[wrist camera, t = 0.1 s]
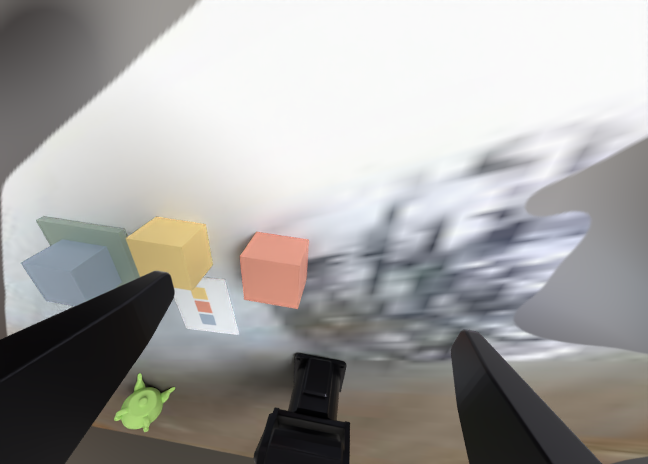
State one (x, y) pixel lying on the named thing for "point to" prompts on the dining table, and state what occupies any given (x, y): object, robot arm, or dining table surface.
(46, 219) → the plate
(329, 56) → the dining table surface
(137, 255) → the brick top
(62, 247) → the brick base
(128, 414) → the multi-spout teapot
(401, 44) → the dining table surface
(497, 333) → the dining table surface
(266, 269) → the brick mid
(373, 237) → the dining table surface
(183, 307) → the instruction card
